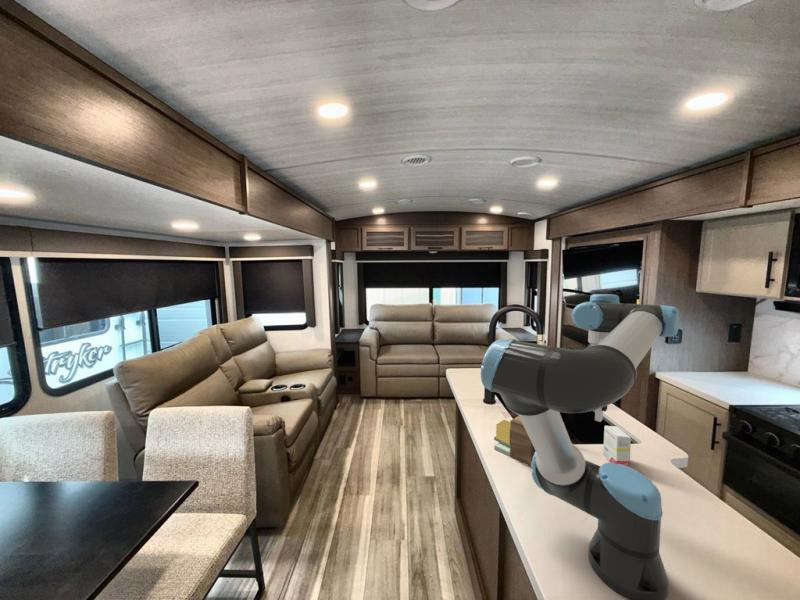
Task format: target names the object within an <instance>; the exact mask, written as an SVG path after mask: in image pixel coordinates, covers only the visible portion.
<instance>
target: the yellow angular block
mask: <svg viewBox="0 0 800 600" xmlns="http://www.w3.org/2000/svg"><path fill="white" fill-rule="evenodd" d="M510 423H511V421H508V420H505V419H502V420H501V421H500V422H498V423H497V424H496V425H495V431H496V432H495V434H496V435H495V436H494V437H493V440H494V441H495V442H498V443H499V442H500V443H502V444H505V445H507V446H509V447H510ZM534 453H535V449H534V446H533V456H534Z"/></svg>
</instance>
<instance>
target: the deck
mask: <svg viewBox="0 0 800 600" xmlns="http://www.w3.org/2000/svg"><path fill="white" fill-rule="evenodd" d="M493 446H494V447H493V449H494V450H495V451H497V452H499V453H501V454H503V455H505V456H508V457H510V447H509V446H507V445H505V444H502V443H500V442H498V443H496V444H495V445H493ZM532 459H533V458H532ZM531 465H532V461H531V463H530V466H529V467H531Z"/></svg>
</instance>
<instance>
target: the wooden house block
mask: <svg viewBox="0 0 800 600" xmlns="http://www.w3.org/2000/svg"><path fill="white" fill-rule="evenodd" d="M510 422H511V423H510V456H509V458H512V459H514V460H516V461H518V462H521V463H522V464H525V465H527V466H528V467H531V466H530V463H531V461H532V458H533V444H532V442H531V440H530V438H529V436H528V434H527V432H526V430H525V428H524V426H523V424H522V422H521V420H520V418H519V416H518V415H517V416H515V418H513V419H511V420H510Z"/></svg>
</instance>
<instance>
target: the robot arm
mask: <svg viewBox="0 0 800 600" xmlns="http://www.w3.org/2000/svg"><path fill="white" fill-rule="evenodd" d="M571 318H572V319H571V320H572V321H573V323H574V324H575V325H576V327H578V328H580V329H582V330H586V331H587V330H588V334H587V335H588V336H587V337H588V338H587V342H588V343H589V344H587V347H586V348H584V349H571V348H564V347H557V346H552V345H546V344H538V343H532V342H527V341H520V340H516V339H515V338H512V339H506V338H500V339H497V340H495V341H493V342H492V343H491V344H490V345H489V346H488V348H487V350H486V351H485V354H484V356H483V358H482V362H481V366H480V379H481V383H482V385H483V387H484V388H485V389H486V390H489V391H490V393H491V392H492V393H494V392H495V393H497V394H498V395H500V397H501V399H502V400H503V402H504V405H505V407H506V408H507V409H508V410H509V411H511V412H512V413H513V414H516V415H517V416H519V418H520V420H521V422H522V424H523V426H524V428H525V430H526V432H527V434H528V436H529V438H530V440H531V442H532V444H533V446H534V449H535V453H534V456H533V459H532V465H531V466H530V467H531V469H532V470H531V476H532V479H533V482H534V483H535V485H536V486H537V487H538V488H539V489H541V490H543V491H544V493H546V494H548V495H551V496H554V497H555V498H557V499H559V500H561V501H563V502H565V503H567V504H569V505H571V506H572V507H575V508H576V509H578V510H580V511H582V512H584V513H586V514H587V515H590V516H591V517H593V518H596V519H597V528H596V530H595V532H594V533H593V536H592V537H591V539H590V541H589V544H588V555H587V556H588V561H589V564H590V566H591V569H592V570H593V571H594V573H595V574H596V575H597V576H598V577H599V578H600V580H601V581H602V582H603V583H604V584H605V585H607V587H609V588H610V589H612V590H613V591H615V592H616V593H618V594H620V595H621V596H623V597H625V598H628V599H630V600H666V598H667V597H668V593H669V579H668V575H667V572H666V569H665V566H664V563H663V559H662V556H661V554H660V545H661V527H662V518H663V513H664V512H663V508H662V506H663V505H662V497H661V493H660V491H659V489H658V488H657V486H656V485H655V484H654V483H653V482H652V480H651V479H649V478H648V477H647V476H645V474H643V473H641V472H639V471H638V470H636V469H634V468H632V467H627V466H625V465H621V464H617V465H616V464H614V463H611V462H606V463H605V462H604V463H603V464H602V465H601V466H600V465H598V464H597V463H596V464H595V463H594V462H592V461H588V460H586V459H585V457H584V455H583V454H582V451H580V449H579V448H578V447H577V446H576V445H574V444H573V443H572V441H571V438H570V436H569V433H568V430H567V428H566V425H565V422H564V421H563V418H562V417H563V416H562V415H561V413H562V414H564V413H565V414H582V413H587V412H592V411H594V412H595V413H594V421H596V422H599V423H601V422H602V421H603V419H604V412H606V411H607V410H608V406H609V405H611V404H614V403H615V402H617V401H619V400H620V399H621V398H623V397H624V396H625V395H627V394H628V393H629V391H630V390H631V389H632V387H633V386H634V384H635V382H636V380H637V375H638V374H637V369H638V366H639V365H640V363H642V361H643V359H644V358H645V356H646V355H647V353H649V351H650V349H651V348H652V346H653V345H654V344H655V342H656V340H657V339H658V338H659V337H662V338H663V337H666V338H667V337H675V336H677V334H678V332H679V328H680V320H681V319H680V318H681V317H680V311H679V308H677V307H676V306H671V305H664V304H641V303H621V302H620V297H619V295H617V294H611V293H610V294H608V293H607V294H606V293H602V294H601V293H592V294H591V295H590V297H589V301H584V302H581V303H579V304H577V305H576V306H575V307H574V308H573V310H572V311H571Z"/></svg>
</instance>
